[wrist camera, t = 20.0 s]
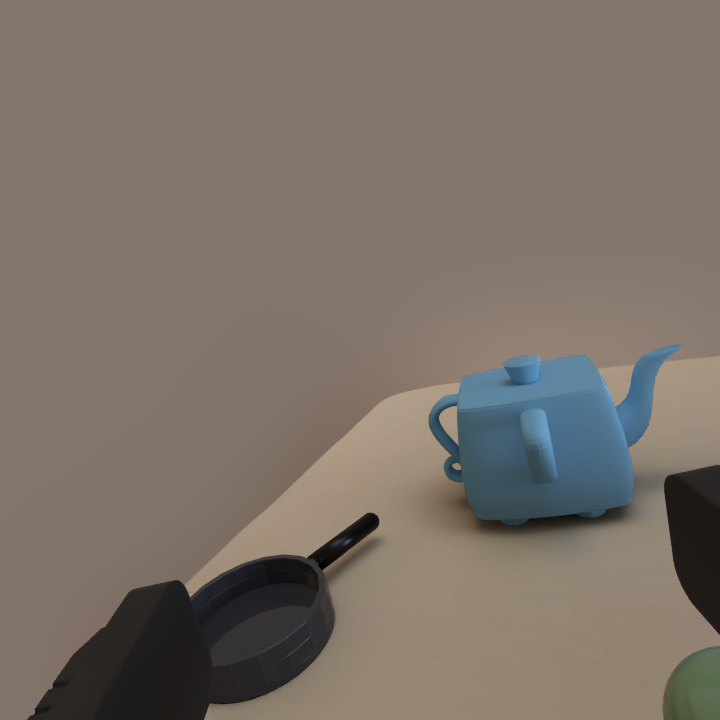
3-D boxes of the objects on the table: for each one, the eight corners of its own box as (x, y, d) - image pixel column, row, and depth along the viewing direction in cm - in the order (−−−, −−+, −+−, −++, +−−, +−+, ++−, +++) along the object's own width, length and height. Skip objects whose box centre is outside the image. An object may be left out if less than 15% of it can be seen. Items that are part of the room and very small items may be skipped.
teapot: (544, 576, 40) (510, 407, 37) (427, 502, 54) (396, 378, 52) (702, 479, 46) (683, 330, 43) (559, 437, 61) (538, 324, 58)
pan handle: (314, 581, 44) (309, 564, 44) (303, 576, 45) (297, 559, 45) (384, 526, 49) (380, 511, 49) (372, 522, 51) (368, 507, 50)
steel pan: (231, 735, 33) (217, 695, 32) (155, 658, 42) (143, 626, 41) (366, 613, 41) (356, 579, 40) (277, 570, 49) (268, 541, 49)
